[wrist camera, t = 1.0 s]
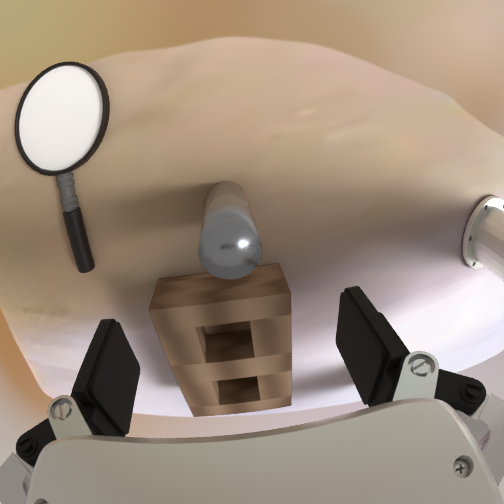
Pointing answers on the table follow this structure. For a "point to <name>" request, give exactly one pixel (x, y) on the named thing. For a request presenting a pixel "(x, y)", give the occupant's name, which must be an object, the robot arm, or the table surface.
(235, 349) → the brown rectangular block
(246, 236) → the steel pin
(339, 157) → the table surface
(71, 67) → the magnifying glass
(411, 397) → the robot arm
